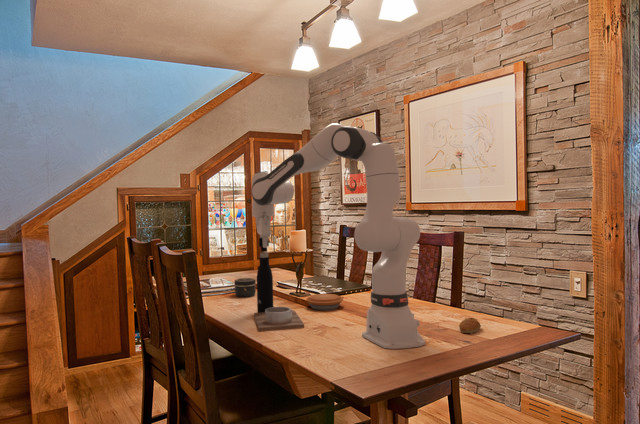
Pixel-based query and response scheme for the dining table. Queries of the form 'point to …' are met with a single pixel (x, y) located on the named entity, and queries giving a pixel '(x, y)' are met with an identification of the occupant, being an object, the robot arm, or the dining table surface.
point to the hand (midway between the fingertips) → (264, 246)
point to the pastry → (469, 325)
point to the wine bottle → (264, 281)
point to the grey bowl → (278, 315)
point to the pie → (324, 301)
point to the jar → (245, 287)
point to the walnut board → (266, 326)
